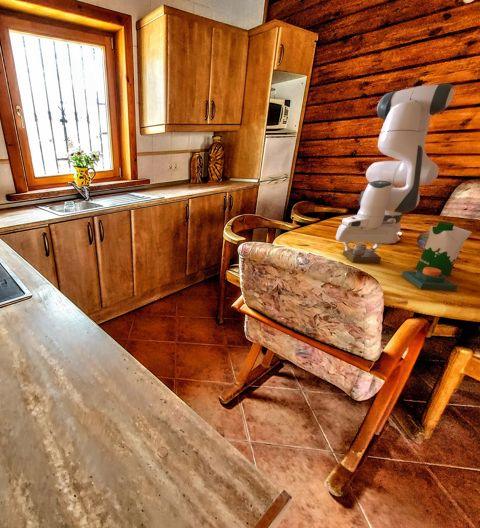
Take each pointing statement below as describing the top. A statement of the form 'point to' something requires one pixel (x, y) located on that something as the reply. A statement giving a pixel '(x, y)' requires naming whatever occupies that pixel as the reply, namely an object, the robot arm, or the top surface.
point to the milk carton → (443, 247)
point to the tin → (423, 239)
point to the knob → (359, 249)
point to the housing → (429, 281)
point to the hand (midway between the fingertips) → (359, 251)
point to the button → (431, 271)
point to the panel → (362, 257)
